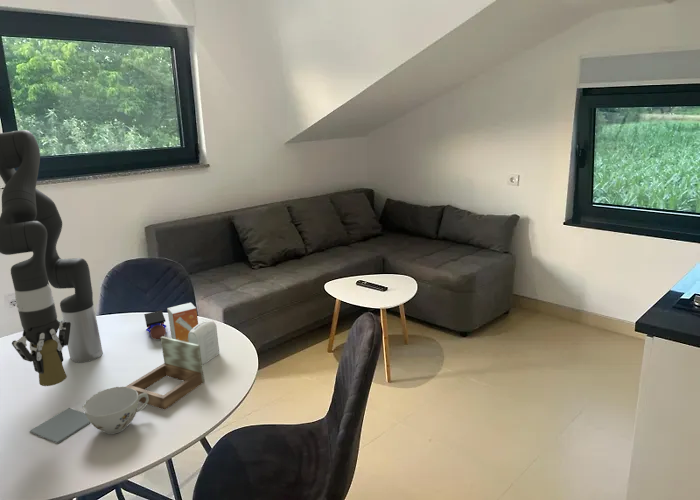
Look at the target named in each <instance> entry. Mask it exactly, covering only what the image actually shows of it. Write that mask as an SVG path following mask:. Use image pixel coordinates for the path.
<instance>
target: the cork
mask: <svg viewBox="0 0 700 500" xmlns="http://www.w3.org/2000/svg"><path fill="white" fill-rule="evenodd" d="M34 347H36V348H37V345H34ZM57 348H58V343H57V342H56V341H55V340H53V339H50V340H47V341H45V342H44V345H43V346H42V350H41V351H40V354H41V355H42V359H43V366H44V373H43V374H40V373H38V380H39V381H38V382H39V383H38V384H39V385H40V386H41V387H51V386H55V385H58V384H60V383H62V382H64V381H65V380H66V379H67V377H68V375H67V373H66V371H65V368H64V365H63V362H62V363H61V360H60V357H59V355H58V352H57ZM35 353H36V351H35Z"/></svg>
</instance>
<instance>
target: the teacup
mask: <svg viewBox="0 0 700 500" xmlns="http://www.w3.org/2000/svg"><path fill="white" fill-rule="evenodd" d="M142 397H145V398H146V402H145V403H142V405H140V407H139V403H140V402H139V400H140V399H141V398H142ZM148 401H149V397H148V394H147V393H142V394H140V395H138V393H137V391H136V390H134V389H132V388H127V387H126V386H115V387H110V388H106V389H103V390H100V391H99V392H97V393H95V394H93V395H92V396H90V398H89V399H87V400H86V401H85V403H84V404H83V406H82V409H83V413H85V414H86V416H87V418H88V420H89V421H90V422H91V423H90V424H91V425H92V426H93V427H94V428H95V429H97V430H98V431H101V432H104V433H105V434H109V435H112V434H113V435H114V434H118V433H121V432H123V431H124V430H125V429H126V428H127V427H129V425H130V424H131V423H132V421H133V420H134V418H135V417H136V414H137V413H139V412H140V411H142V410H143V409H145V407H146V406H147V405H148V404H147V403H148Z"/></svg>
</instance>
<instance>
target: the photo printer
mask: <svg viewBox="0 0 700 500" xmlns="http://www.w3.org/2000/svg"><path fill="white" fill-rule="evenodd" d="M217 329H218V328H217V324H216V322H215V321H214V320H205V321H201V322H198V325H196V326H195V327H194V328H193V329H192V330H191V331H190V332H189V334H188V340H189V343H193V344H197V345H200V353H201V360H202V366H203V365H205V364H206V363H208V362H209V361H211V360H212V359H214V358H215V357H216V356H218V355H219V354H220V345H219V337H218V330H217Z"/></svg>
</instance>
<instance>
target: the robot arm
mask: <svg viewBox="0 0 700 500" xmlns="http://www.w3.org/2000/svg"><path fill="white" fill-rule="evenodd" d="M40 162H41V152H40V147H39V144H38V141H37V140H36V137H35V136H34V134H33V133H32V132H31V131H29V130H25V129H20V130H18V129H17V130H13V131H8V132H7V131H6V132H1V133H0V178H1V179H2V181H3V183H4V187H3V189H2V193H1V213H0V254H2V255H6V256H10V255H11V256H12V255H17V254H25V253H33V254H32V256H31V257H29V258H28V259H26V260H22V261H21V262H20V261H19V262H17V263H15V264H13V265H12V266H11V268H10V275H11V280H12V284H13V289H14V296H15V303H16V308H17V311H18V316H19V320H20V324H21V328H22V329H23V330H22V331H23V332H22V336H21V337H20V338H18V340H16V339H15V340H12V342H11V346H12V347H13V348H14V349H15V351H16V352H17V353H18V355H19V356H20V357H21V359H22V360H23V361H27V362H29V363H30V362H32V365H33V369H34V371H35V372H36V373H38V374H39V373H40V374H43V373H44V366H43V359H42V355H41V354H40V351H41V350H42V346H43V345H44V342H45V341H47V340H50V339H53V340H55V341H56V342H57V343H58V348H57V352H58V355H59V357H60V360H61V363H62V364H63V362H64V356H63V351H62V350H63V348H64V347H65V346H67V351H68V354H69V358H71V361H72V362H74V363H88V362H91V361H95V360H96V359H99V357H100V356H101V357H102V354H103V353H104V352H103V347H102V341H101V335H100V330H99V325H98V321H97V320H98V319H97V315H96V311H95V305H94V300H93V299H94V298H93V287H92V280H91V272H90V271H91V270H90V267H89V264H88V261H86V260H85V259H84V258H81V257H77V258H61V257H60V255H59V253H58V251H57V244H58V240H59V238H60V235H61V232H62V229H63V220H62V217H61V215H60V213H59V210H58V208H57V205H56V204H55V202H54V200H52V198H51V197H49V196H48V195H46V194H45V193H43V192H42V191H41V190H39V189H37V181H38V177H39V169H40ZM51 287H53V288H54V289H60V290H61V289H63V290H64V289H74V293H73V294H71V295H68V296H67V297H65V298H63V299H62V300H61V301H60V303H59V307H60V312H61V316H62V320H61V321H60V320H58V313H57V310H56V305H55V304H56V303H55V300H54V296H53V291H52V288H51ZM57 334H58V335H57ZM27 342H29V349H28V348H27V346H28V344H27ZM34 345H37V348H36V347H34ZM29 350H30V351H29ZM35 351H36V353H35Z"/></svg>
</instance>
